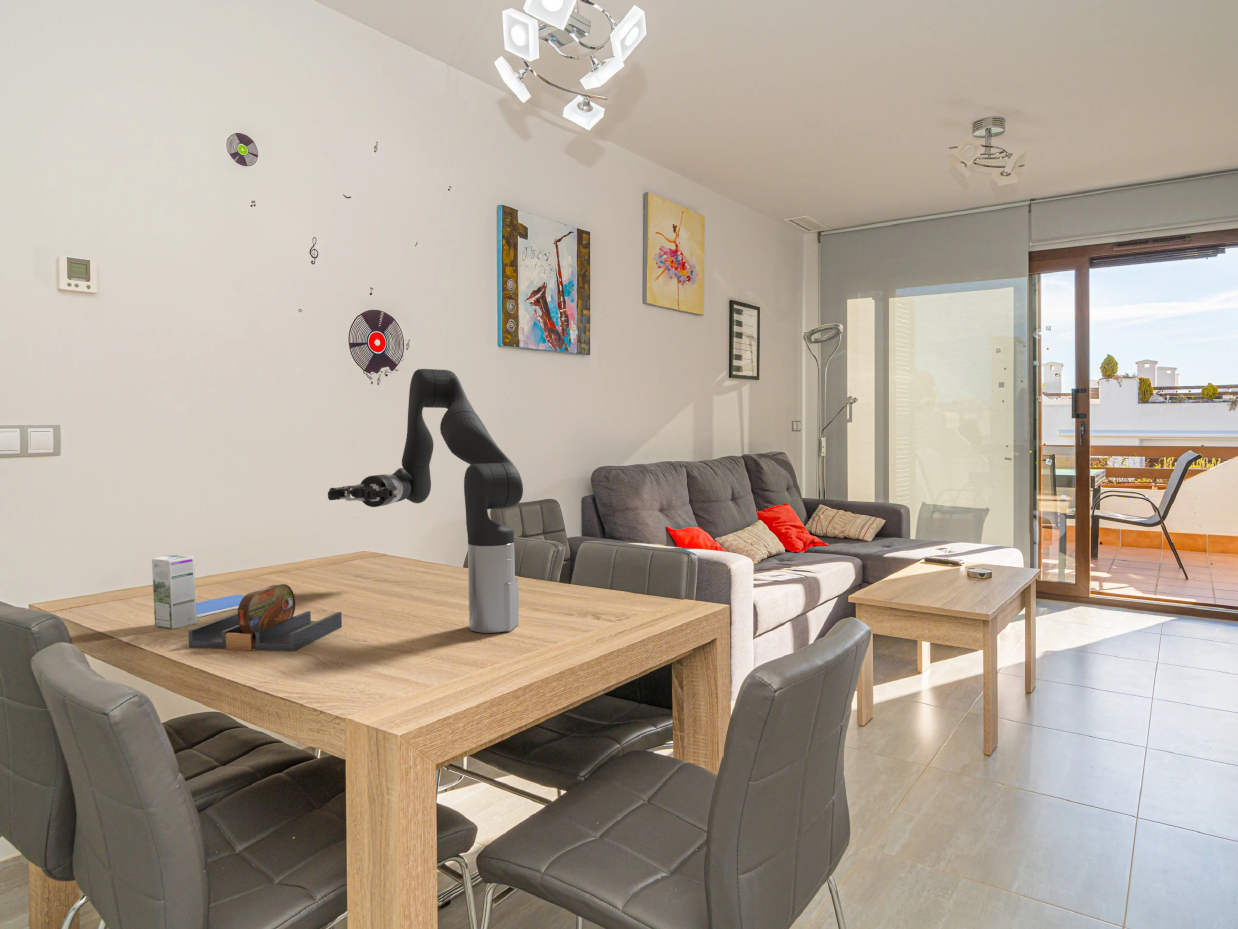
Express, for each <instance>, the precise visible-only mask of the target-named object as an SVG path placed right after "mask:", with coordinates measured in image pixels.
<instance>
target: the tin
mask: <svg viewBox="0 0 1238 929" xmlns="http://www.w3.org/2000/svg"><path fill="white" fill-rule="evenodd" d="M295 610H296V598H295V594H294V591H293V589H292V588H291V586H289V585H288V584H286V583H285V584H284V583H282V584H273V585H269V586H266V587H263V588H260V589H258V590H255V591H252V592H249V593H247V594H245V596H244V597H243V599H242V600H241V602H240V604H239V607H238V609H237V613H238V621H239V627H240V629H241V631H242V632H243V633H253V636H255V632H258V631H260V630H263V629H265V628H267V627H270V626H272V625H275V624H277V623H279V622H282V621H284V620H287V619H289V618H291V617H294V616H295Z"/></svg>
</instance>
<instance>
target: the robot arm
mask: <svg viewBox="0 0 1238 929" xmlns="http://www.w3.org/2000/svg"><path fill="white" fill-rule="evenodd" d="M408 393H409V394H408V406H407V429H406V439H405V444H404V448H403V453H402V457H401V466H402V467H400V468H398V469H396V470H395V472H393V473H391V474H385V473H384V474H375V475H370V476H369V475H368V476H366V477H365V478H364V479H362V481H361V482H360V483H357V484H354V485H345V486H340V487H339V486H338V487H331V488H329V490H328V492H327V499H328V500H329V501H336V500H337V501H339V500H345V501H347V502H350V501H351V502H352V501H358V502H362V503H363V504H364V505H366V506H367V507H370V508H378V507H383V506H387V505H388V506H389V505H391V504H394V503H397V502H401V501H404V500H407V501H409V502H412V503H414V504H422V503H424V502H425V501H426V500H427V498H428V497H429V495H430V492H431V490H432V489H431V488H432V480H431V479H432V478H431V477H432V476H431V469H430V466H431V465H430V464H431V460H432V456H433V451H434V439H433V436H432V434H431V432H430V430H429V428H428V426H427V424H426V422H425V420H424V418H423V417H424V416H423V411H424V408H435V409H437V408H438V409H440V408H441V409H447V410H446V411H445V413H444V414H443V416H442V418H441V421H440V424H439V426H440V427H439V430H440V434H441V437H442V438H443V441H444V442H445V445H446V446H447V448H448V449H449V451H450V452H451V453H452V454H453V455H454V457H457V458H458V459H460V460H461V461H463V462H465V463H467V464H469V465H468V467H467V468H466V470H465V473H464V478H463V492H464V493H463V495H464V505H465V506H464V507H465V523H466V524H465V525H466V533H467V562H468V563H467V565H468V566H467V568H468V571H467V572H468V573H467V574H468V616H469V617H468V621H469V630H470V631H472V632H476V633H484V634H485V633H486V634H488V633H489V634H490V633H491V634H492V633H501V632H502V633H503V632H511V631H512V630H514V628H516V627H517V626H518V625H519V622H520V621H519V579H518V578H517V577H516V576H515V575H516V574H515V572H516V568H515V565H516V564H515V561H516V560H515V559H516V558H515V531H514V529H513V528H512V527H510V526H507V525H503V524H501V523H500V524H499V523H498V522H496V521H493V520H492V519H491V518H490V516H489V512H488V510H497V509H498V510H499V509H508V508H512V507H515V506H517V505H518V504H519V503H520V502H521V500H522V498H523V495H524V487H523V486H524V484H523V480H522V477H521V475H520V473H519V470H518V468H517V467H516V466H515V465H514V463H513V461H512V460H510V458H509V457H508V456H507V455H506V454H505V453H504V452H503V451H502V449H501V448H500V447H499V446H498V445H497V443H496V442H495V440H494V439H493V437H492V436H491V434H490V433H489V432H488V429H487V428H486V426H485V424H484V423H483V422H482V419H481V418H480V417H479V415H478V414H477V412H476V410H474V408H473V406H472V405H471V403H470V401H469V400H468V398H467V395H466V393H465V390H464V388H463V386H462V384H461V382H460V380H459V377H458V375H456V374H455V372H454V371H451V370H448V369H434V368H420V369H419V368H417V369H416V370H415V371H414V372H413V374H412V376H411V380H410V384H409V392H408Z"/></svg>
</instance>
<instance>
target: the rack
mask: <svg viewBox="0 0 1238 929" xmlns="http://www.w3.org/2000/svg"><path fill="white" fill-rule="evenodd" d="M311 613H312V612H311V611H310V610H306V611H304V612H302V613H298V614H297V615H293V617H291V618H289V619H287V620H284V621H282V622H279V623H277V624H275V625H272V626H270V627H267V628H265V629H263V630H260V631H258V632H255V636H253V633H243V632H242V631H241V629H240V627H239V621H238V612H236V613H233V614H230V615H228V616H225V617H222V618H220V619H216V620H214V621H210V622H208V623H206V624H203V625H199V626H196V627H194V628H191V629H189V630H188V634H187V635H188V648H189V649H190V648H191V649H193V648H194V649H196V648H197V649H221V650H222V649H225V650H227V651H228V650H229V651H249V650H251V651H253V649H255V650H254V651H278V650H284V651H283V652H285V651H287V652H295V651H297V650H299V649H301V648H303V647H305V646H307V645H309V644H311V643H313V642H316V641H317V640H319V639H322V638H323V637H326V636H327V634H328V635H329V633H330V634H331V632H332V633H333V631H334V632H336V631H338V630H340V629H342V628H343V625H342V622H343V620H342V619H343V617H342V614H343V613H342V611H337V612H334V613H331V614H330V615H328V616H326V617H323V618H321V619H318V620H312V619H311V617H312V616H311ZM341 627H342V628H341ZM339 628H340V629H339ZM337 629H338V630H337ZM335 630H336V631H335ZM325 635H326V636H325ZM315 640H316V641H315Z"/></svg>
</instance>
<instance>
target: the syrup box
mask: <svg viewBox="0 0 1238 929" xmlns="http://www.w3.org/2000/svg"><path fill="white" fill-rule="evenodd" d="M151 565H152V566H151V567H152V569H151V570H152V587H153V588H152V590H153V609H154V612H153V613H154V626H155V627H157V628H161V629H169V630H174V629H180V628H184V627H189V626H193V625H196V624H197V622H198V621H197V620H198V618H197V617H196V603H197V601H196V600H197V599H196V581H195V580H196V577H195V575H196V573H195V557H194V555H184V554H170V555H169V554H167V555H161V556H158V557H155V558H151ZM188 625H189V626H188Z"/></svg>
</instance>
